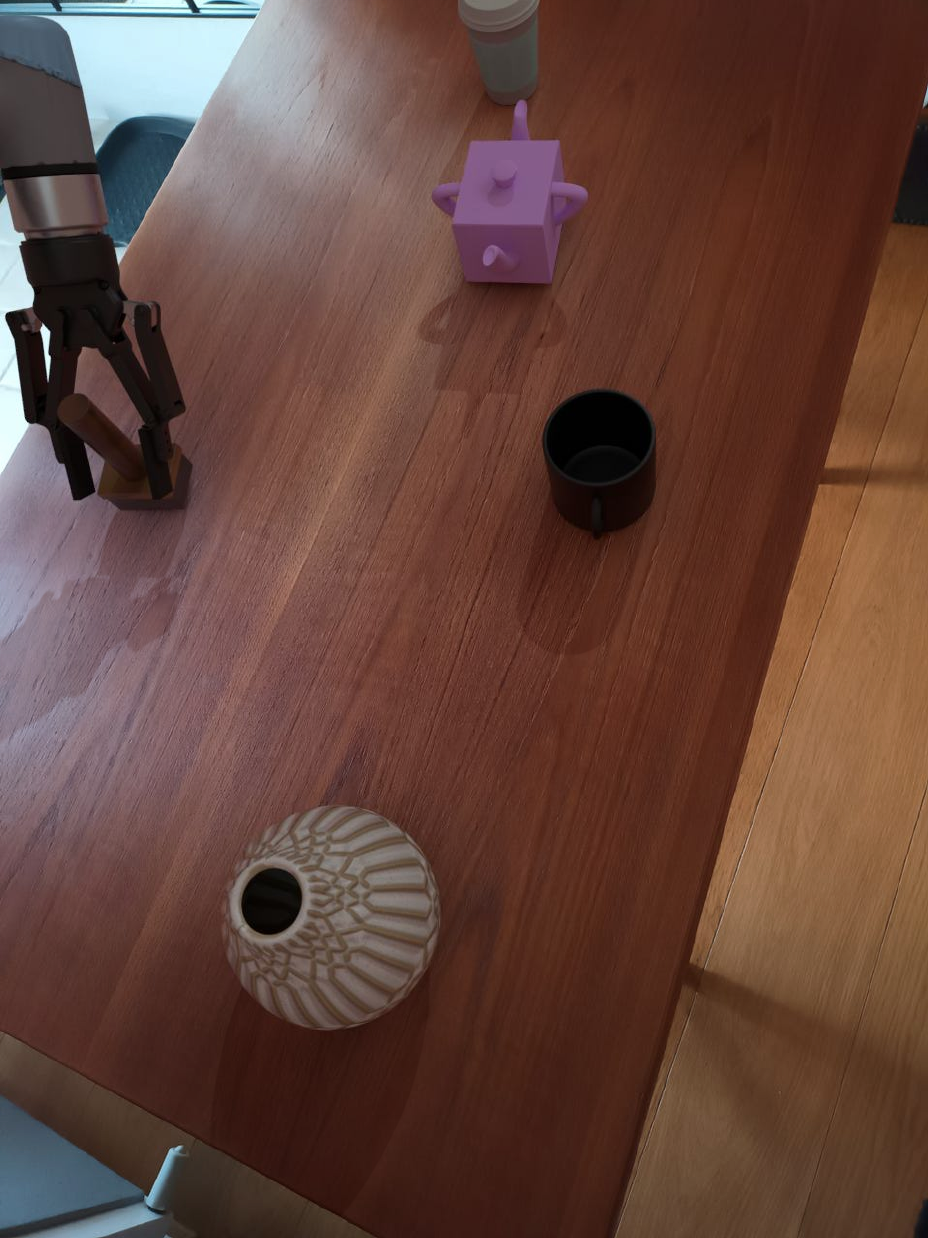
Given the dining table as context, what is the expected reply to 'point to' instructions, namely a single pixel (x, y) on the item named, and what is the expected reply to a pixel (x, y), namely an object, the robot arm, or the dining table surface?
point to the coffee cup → (504, 45)
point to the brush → (123, 459)
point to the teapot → (510, 207)
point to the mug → (601, 459)
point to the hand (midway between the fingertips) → (123, 495)
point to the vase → (331, 917)
